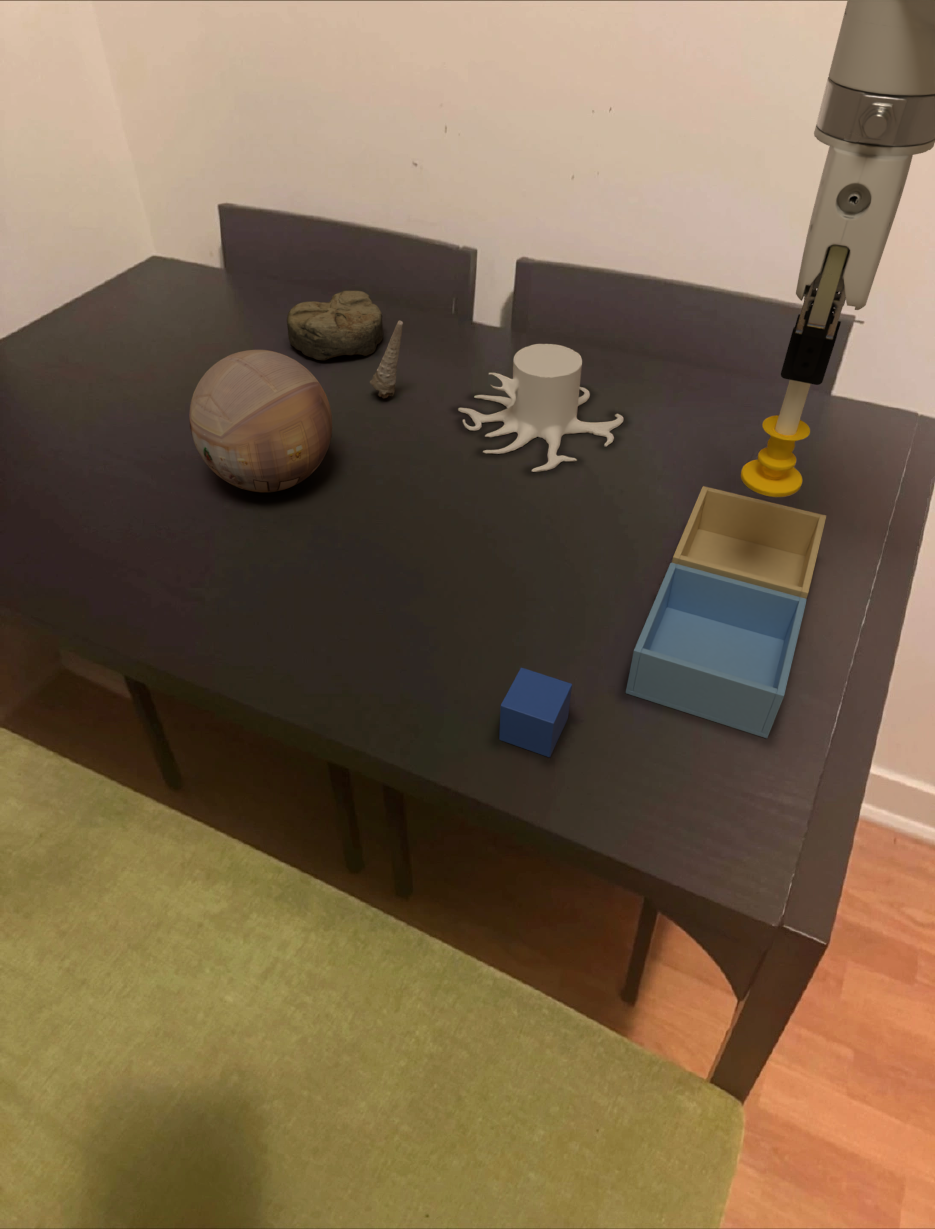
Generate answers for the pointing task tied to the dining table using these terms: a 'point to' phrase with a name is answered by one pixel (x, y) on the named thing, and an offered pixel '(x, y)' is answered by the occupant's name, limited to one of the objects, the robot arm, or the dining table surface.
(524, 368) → the tree stump
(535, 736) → the blue block
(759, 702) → the blue bin
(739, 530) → the cream bin
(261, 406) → the ornament
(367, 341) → the stone
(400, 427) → the dining table surface
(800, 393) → the candle
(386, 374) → the seashell
